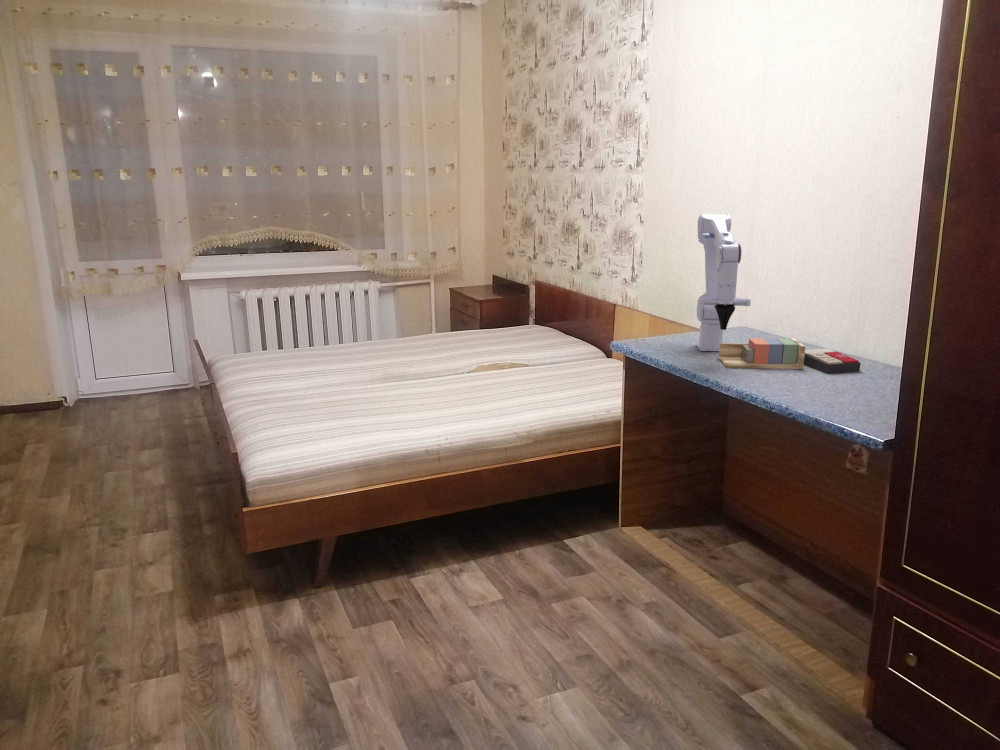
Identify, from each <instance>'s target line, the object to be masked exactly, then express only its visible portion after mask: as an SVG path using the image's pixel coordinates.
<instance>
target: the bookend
mask: <svg viewBox="0 0 1000 750" xmlns="http://www.w3.org/2000/svg"><path fill="white" fill-rule="evenodd" d="M754 351H755V350H754V349H753V348H752V347H751V346H749V345H742V353H741V358H742V359H743V360H744V361H745V362H746V363H753V362H754Z"/></svg>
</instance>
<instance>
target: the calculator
mask: <svg viewBox="0 0 1000 750" xmlns="http://www.w3.org/2000/svg"><path fill="white" fill-rule="evenodd" d="M804 366H808V367H810V368H812V369H814V370H817V371H819V372H822V373H824V374H840V373H854V372H855V373H856V372H860V370H861V362H860V361H859V360H858V359H856V358H854V357H851V356H848V355H846V354H844V353H842V352H839V351H835V350H833V349H831V348H816V349H815V348H814V349H805V356H804Z"/></svg>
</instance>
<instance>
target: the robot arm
mask: <svg viewBox="0 0 1000 750" xmlns="http://www.w3.org/2000/svg"><path fill="white" fill-rule="evenodd" d="M697 218H698V220H697V238H698V242H699V243H700V244H702V245H703V249H704V269H705V271H704V273H705V292H704V293H703V294H701V295H700V296H698V299H697V304H696V318H697V320H698V322H700V325H699V333H698V335H699V336H698V337H699V338H698V342H697V343H695V346H696V347H697V349H698V350H699V351H701V352H719V349H720V343H724V341H723V340H724V331H725V330H727V328H728V324H729V322H730V319H731V317H732V315H733V314H734V312H735V310H736V306H737V307H739V306H742V307H751V299H750V298H738V297H737V298H736V295H737V294H736V293H737V281H738V270H739V269H738V268H739V264H740V263H741V260H742V246H741V243H736V241H735V239H734V236H733V234H732V233H731V229H732V217H731V215H730V214H729V213H726V214H703V213H701V214H700V215H699V216H698V217H697Z"/></svg>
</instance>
